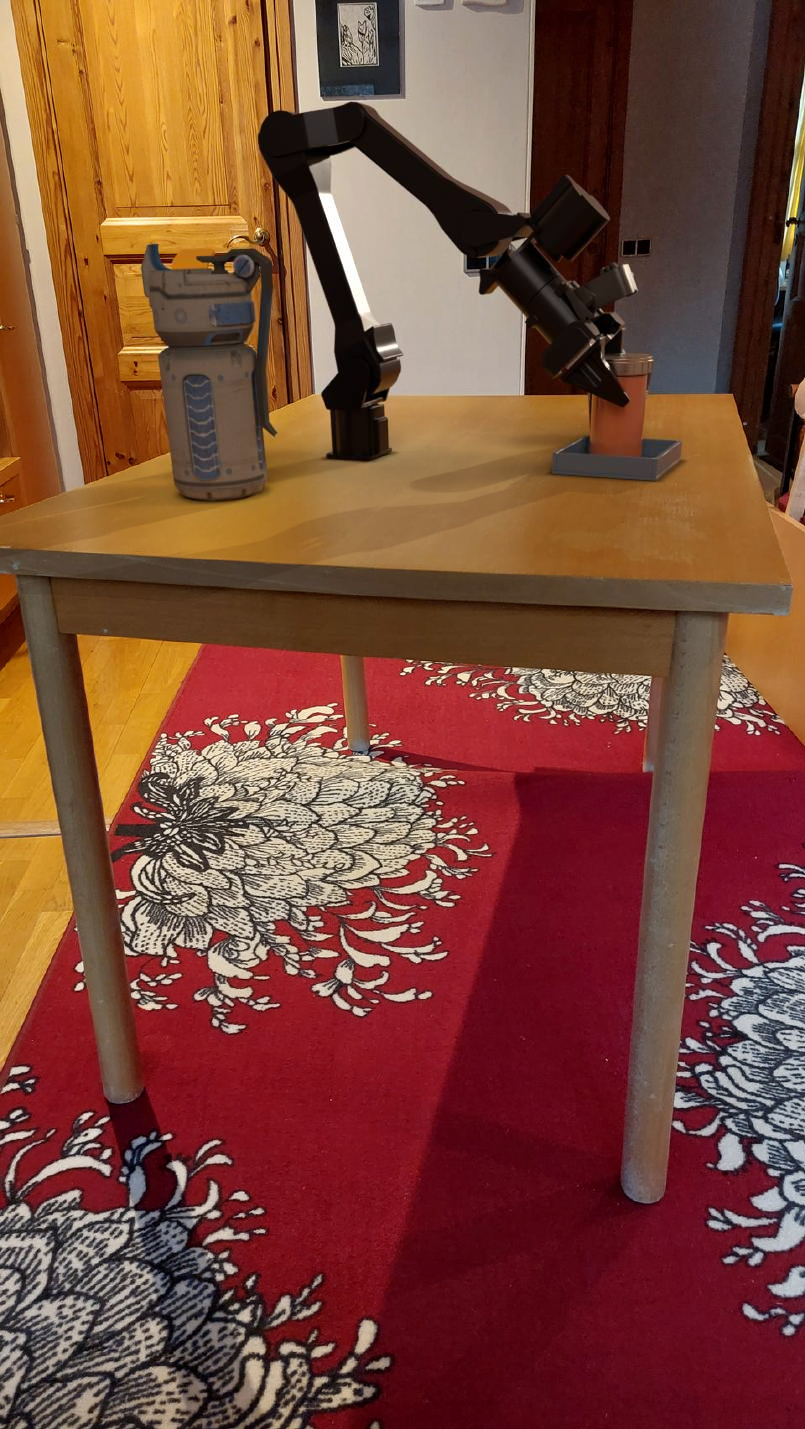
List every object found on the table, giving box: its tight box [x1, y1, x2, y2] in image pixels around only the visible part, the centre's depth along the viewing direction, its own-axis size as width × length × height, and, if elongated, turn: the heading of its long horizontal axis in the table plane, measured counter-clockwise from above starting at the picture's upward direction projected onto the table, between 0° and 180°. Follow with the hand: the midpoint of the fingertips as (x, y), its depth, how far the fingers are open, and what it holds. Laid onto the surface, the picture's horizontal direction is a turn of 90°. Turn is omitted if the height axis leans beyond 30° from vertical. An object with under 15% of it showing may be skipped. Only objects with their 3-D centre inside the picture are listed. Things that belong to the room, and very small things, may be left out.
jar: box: [589, 374, 647, 457], centre depth 112 cm, size 6×6×12 cm
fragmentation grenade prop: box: [140, 243, 278, 502], centre depth 103 cm, size 10×13×25 cm
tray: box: [551, 435, 683, 482], centre depth 114 cm, size 12×12×2 cm
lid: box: [604, 352, 654, 376], centre depth 110 cm, size 7×7×2 cm
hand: (633, 398), depth 111 cm, fingers open, 9 cm apart
